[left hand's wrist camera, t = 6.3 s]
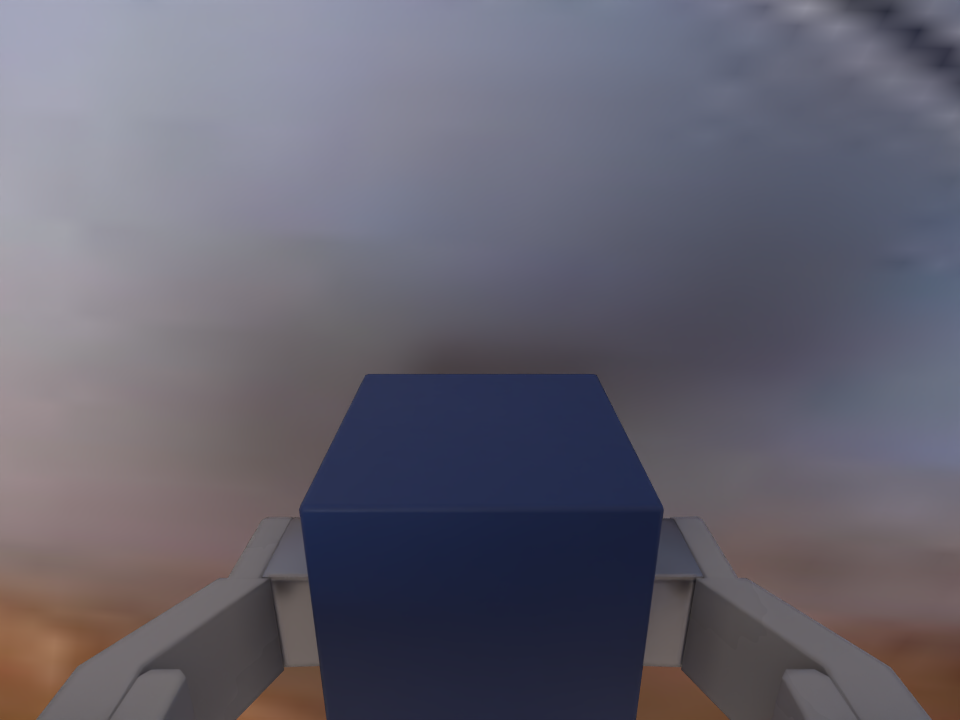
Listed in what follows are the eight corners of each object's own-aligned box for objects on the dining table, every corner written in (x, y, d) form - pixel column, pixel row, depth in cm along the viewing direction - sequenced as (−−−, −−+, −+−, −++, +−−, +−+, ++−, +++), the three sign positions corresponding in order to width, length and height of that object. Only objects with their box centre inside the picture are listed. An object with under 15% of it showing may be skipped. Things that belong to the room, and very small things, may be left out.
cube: (597, 372, 12) (666, 507, 7) (581, 572, 14) (630, 776, 9) (364, 372, 12) (296, 507, 7) (379, 572, 14) (332, 777, 9)
